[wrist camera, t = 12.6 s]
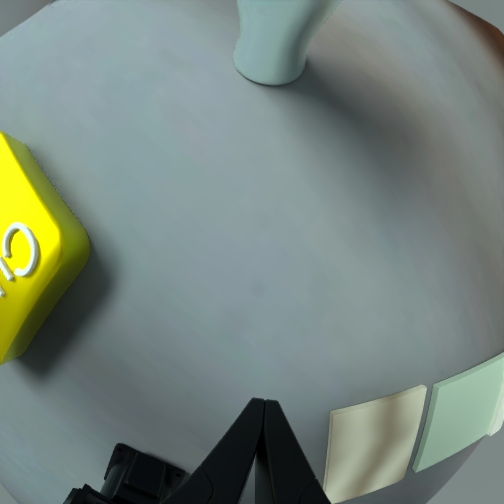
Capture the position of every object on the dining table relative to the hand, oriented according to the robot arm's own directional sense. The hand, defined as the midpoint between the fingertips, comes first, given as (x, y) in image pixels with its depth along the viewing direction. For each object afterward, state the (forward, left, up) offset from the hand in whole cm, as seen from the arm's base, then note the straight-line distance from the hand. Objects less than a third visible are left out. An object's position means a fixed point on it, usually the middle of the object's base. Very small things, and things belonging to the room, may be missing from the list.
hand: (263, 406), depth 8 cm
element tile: (-4, +21, -12) cm, 25 cm away
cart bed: (-7, -17, -11) cm, 22 cm away
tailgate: (-4, -23, -11) cm, 26 cm away
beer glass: (+20, +8, -11) cm, 24 cm away
